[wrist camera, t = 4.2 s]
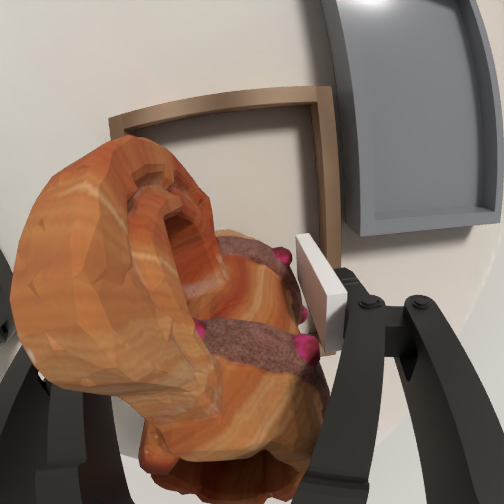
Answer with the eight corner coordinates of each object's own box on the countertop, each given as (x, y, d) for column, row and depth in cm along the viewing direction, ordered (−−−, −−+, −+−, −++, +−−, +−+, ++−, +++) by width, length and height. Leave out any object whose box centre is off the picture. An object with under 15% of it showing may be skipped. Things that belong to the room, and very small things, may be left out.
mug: (307, 315, 21) (368, 505, 7) (208, 344, 22) (189, 530, 8) (243, 118, 16) (258, 0, 2) (123, 167, 16) (-85, 260, 3)
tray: (345, 223, 20) (360, 236, 17) (311, -35, 12) (319, -54, 9) (478, 213, 20) (499, 222, 17) (454, 0, 12) (472, -9, 9)
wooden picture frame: (175, 353, 24) (170, 368, 22) (120, 119, 17) (108, 118, 15) (330, 339, 24) (335, 354, 22) (322, 91, 16) (331, 86, 15)
